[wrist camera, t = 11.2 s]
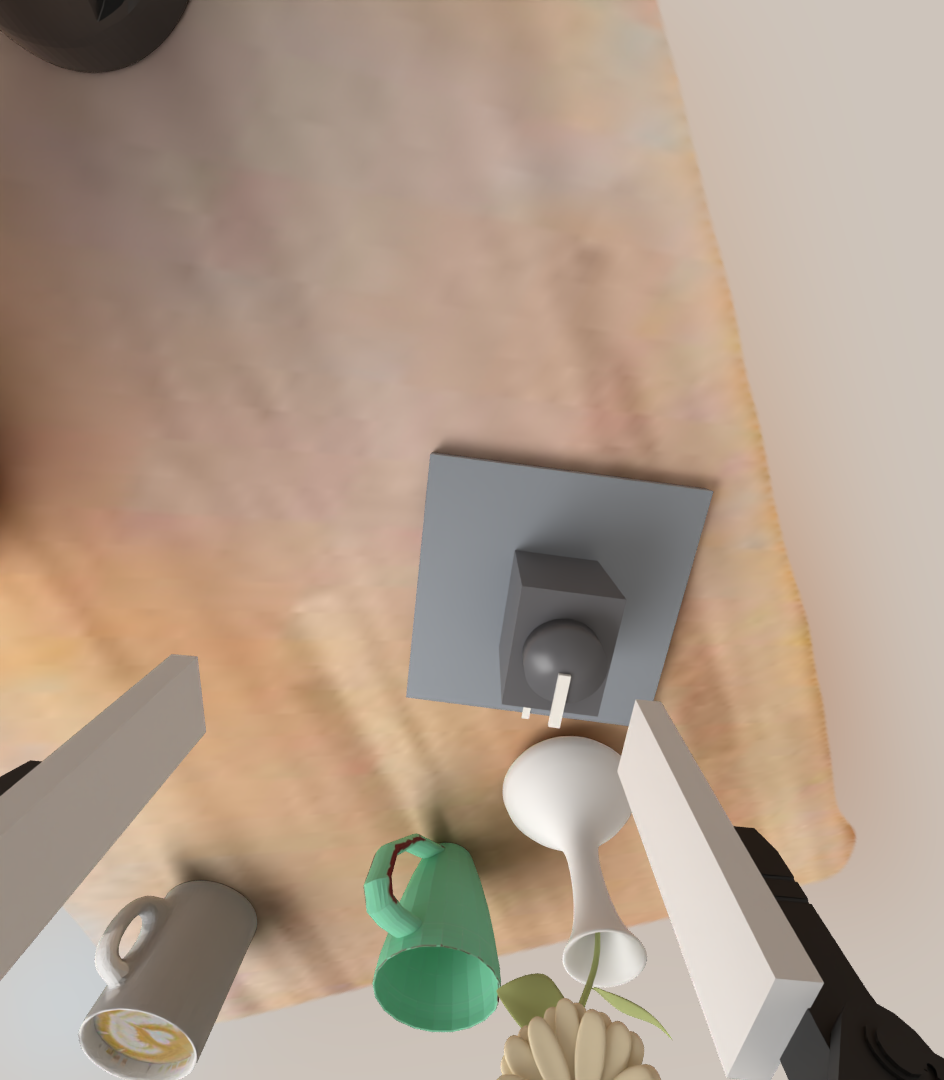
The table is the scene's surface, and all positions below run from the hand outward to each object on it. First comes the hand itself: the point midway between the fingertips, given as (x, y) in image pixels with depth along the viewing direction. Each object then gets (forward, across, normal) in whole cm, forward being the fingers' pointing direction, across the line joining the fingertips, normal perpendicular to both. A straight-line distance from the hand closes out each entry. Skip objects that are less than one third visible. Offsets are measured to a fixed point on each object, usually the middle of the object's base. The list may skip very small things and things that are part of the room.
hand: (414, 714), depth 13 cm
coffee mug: (+20, -23, -43) cm, 53 cm away
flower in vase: (+20, +11, -22) cm, 32 cm away
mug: (+20, +1, -32) cm, 38 cm away
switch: (+21, +8, -5) cm, 23 cm away
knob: (+20, +8, -5) cm, 22 cm away
